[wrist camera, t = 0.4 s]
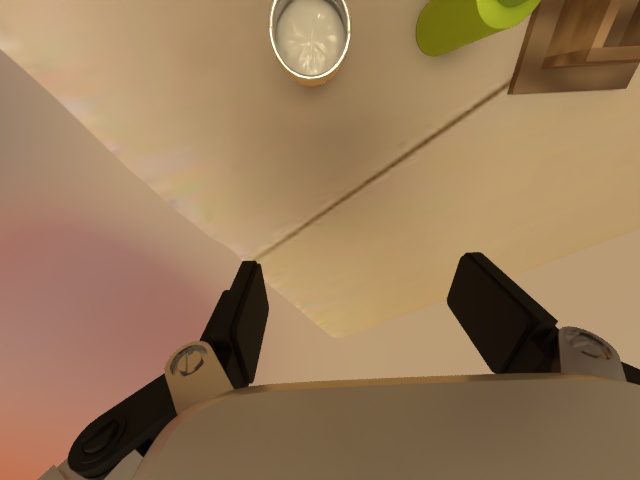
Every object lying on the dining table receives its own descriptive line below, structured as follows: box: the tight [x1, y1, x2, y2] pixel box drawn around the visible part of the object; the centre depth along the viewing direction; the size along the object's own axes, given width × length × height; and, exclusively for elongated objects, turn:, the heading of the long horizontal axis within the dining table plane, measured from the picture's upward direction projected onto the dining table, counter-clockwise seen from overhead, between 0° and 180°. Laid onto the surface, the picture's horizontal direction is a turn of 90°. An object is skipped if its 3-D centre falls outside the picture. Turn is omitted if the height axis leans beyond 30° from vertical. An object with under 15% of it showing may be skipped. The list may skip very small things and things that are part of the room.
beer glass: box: [268, 0, 351, 87], centre depth 25 cm, size 7×7×15 cm
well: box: [508, 0, 640, 94], centre depth 27 cm, size 16×16×7 cm
